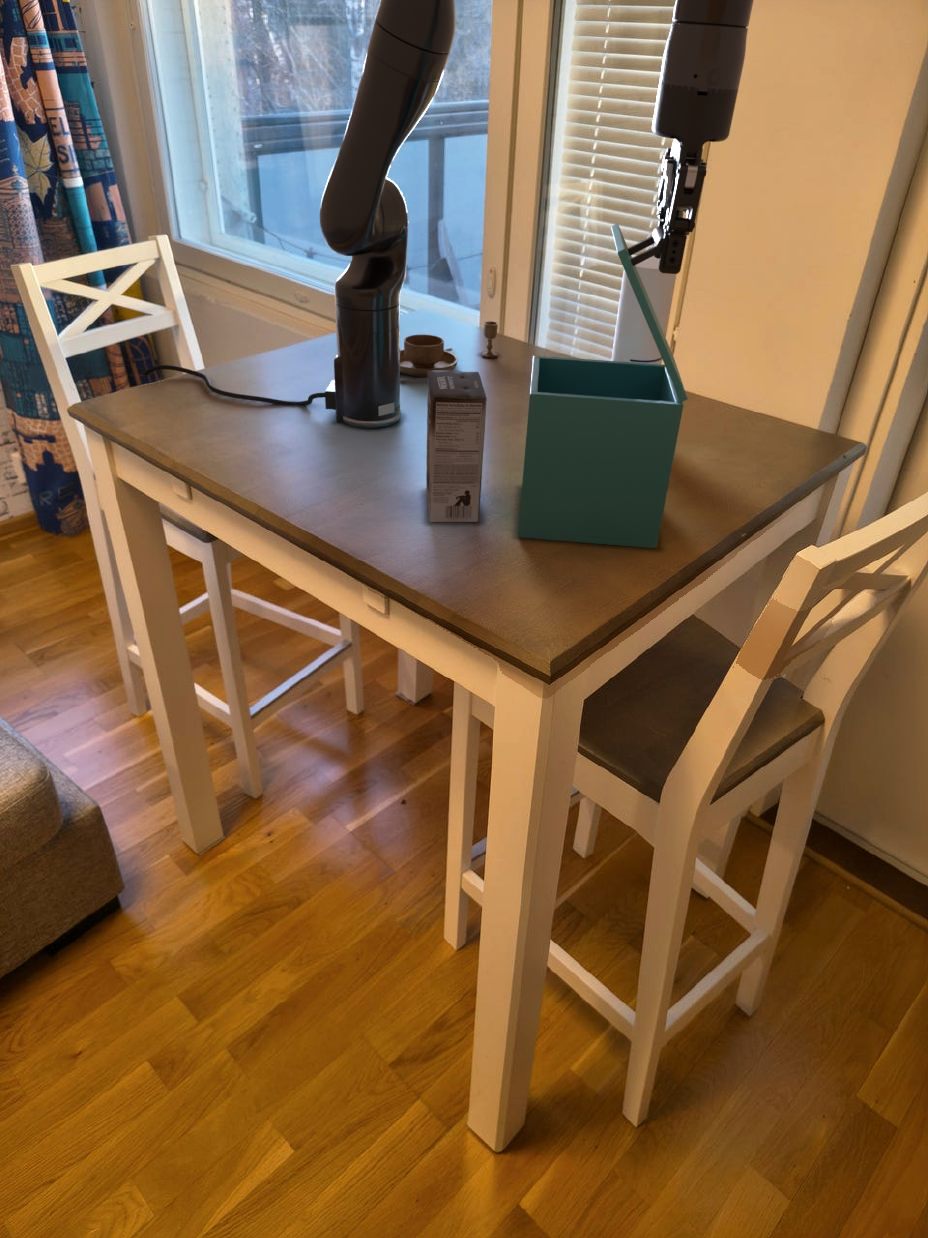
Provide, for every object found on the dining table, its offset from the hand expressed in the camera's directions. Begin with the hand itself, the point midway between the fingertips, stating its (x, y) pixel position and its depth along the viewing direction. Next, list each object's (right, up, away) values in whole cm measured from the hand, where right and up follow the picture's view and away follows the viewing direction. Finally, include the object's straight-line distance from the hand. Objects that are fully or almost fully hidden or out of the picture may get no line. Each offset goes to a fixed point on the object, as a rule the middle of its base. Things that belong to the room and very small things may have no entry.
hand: (665, 264), depth 94 cm
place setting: (-25, +7, +63) cm, 68 cm away
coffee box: (-23, -24, +18) cm, 38 cm away
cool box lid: (-2, -4, +3) cm, 5 cm away
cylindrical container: (+3, -10, +40) cm, 41 cm away
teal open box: (-6, -25, +17) cm, 31 cm away
